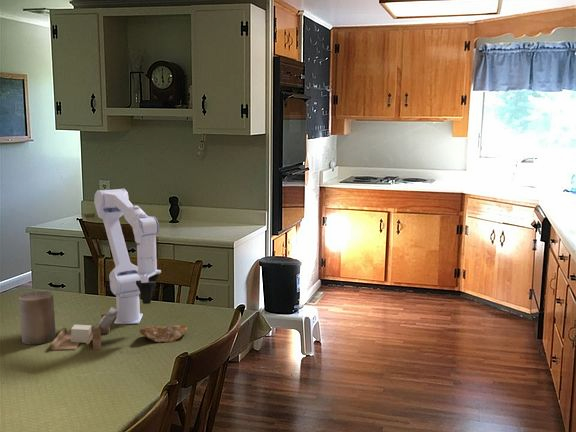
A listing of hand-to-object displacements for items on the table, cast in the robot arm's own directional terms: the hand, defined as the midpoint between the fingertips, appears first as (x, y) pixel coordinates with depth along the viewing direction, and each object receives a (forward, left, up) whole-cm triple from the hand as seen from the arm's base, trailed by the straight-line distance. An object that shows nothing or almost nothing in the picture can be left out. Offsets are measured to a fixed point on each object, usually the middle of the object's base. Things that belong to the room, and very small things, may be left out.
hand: (148, 300), depth 194 cm
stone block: (+6, -19, -8) cm, 22 cm away
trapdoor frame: (+6, -19, -10) cm, 23 cm away
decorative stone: (+5, +5, -11) cm, 13 cm away
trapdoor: (+6, -12, -7) cm, 15 cm away
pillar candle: (+4, -32, -11) cm, 34 cm away
